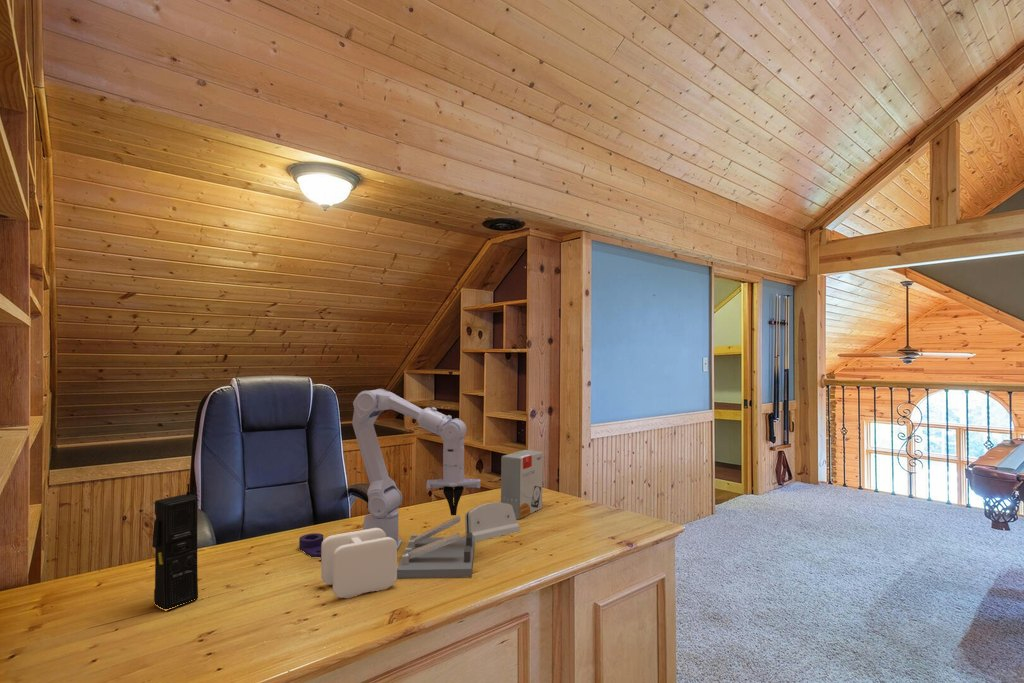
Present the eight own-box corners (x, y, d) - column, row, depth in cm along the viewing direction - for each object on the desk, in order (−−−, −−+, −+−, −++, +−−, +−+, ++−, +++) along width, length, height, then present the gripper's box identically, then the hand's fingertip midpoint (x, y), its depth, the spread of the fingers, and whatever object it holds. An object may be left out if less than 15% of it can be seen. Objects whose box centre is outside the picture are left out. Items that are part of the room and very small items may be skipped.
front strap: (404, 562, 131) (402, 556, 131) (406, 557, 134) (404, 552, 134) (459, 541, 132) (457, 535, 132) (460, 536, 135) (458, 531, 135)
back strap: (410, 547, 141) (408, 542, 141) (412, 543, 144) (410, 538, 144) (460, 522, 142) (457, 517, 142) (460, 519, 145) (458, 514, 145)
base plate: (396, 578, 127) (396, 559, 127) (410, 544, 149) (410, 528, 149) (471, 577, 127) (471, 558, 128) (474, 544, 149) (474, 527, 150)
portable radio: (160, 615, 109) (162, 494, 110) (147, 607, 113) (148, 490, 113) (200, 599, 116) (201, 485, 117) (185, 593, 119) (186, 482, 120)
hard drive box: (519, 520, 170) (519, 458, 171) (499, 516, 175) (499, 456, 175) (543, 508, 183) (543, 451, 184) (524, 505, 188) (524, 448, 188)
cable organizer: (330, 604, 114) (330, 550, 114) (320, 585, 123) (320, 535, 124) (397, 588, 122) (397, 537, 122) (383, 571, 131) (383, 524, 131)
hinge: (473, 542, 151) (467, 506, 154) (466, 543, 154) (460, 508, 157) (521, 531, 160) (515, 497, 163) (513, 532, 163) (507, 499, 166)
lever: (296, 547, 148) (296, 536, 148) (319, 542, 152) (319, 531, 152) (308, 561, 138) (308, 549, 138) (332, 556, 142) (332, 544, 142)
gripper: (425, 467, 139) (425, 519, 139) (479, 467, 140) (479, 518, 140) (428, 462, 147) (428, 511, 146) (480, 461, 147) (480, 510, 147)
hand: (453, 514), depth 143 cm, fingers closed
